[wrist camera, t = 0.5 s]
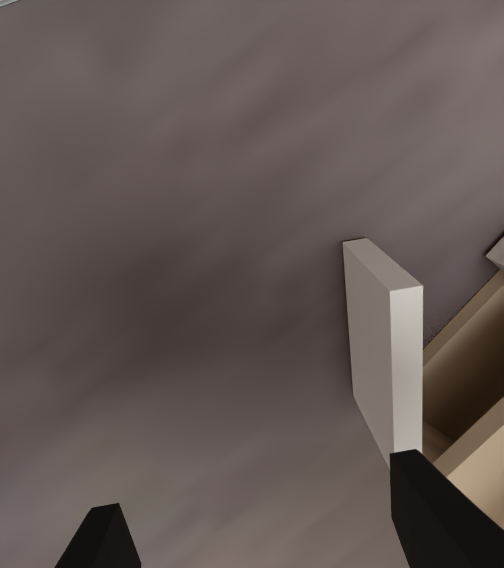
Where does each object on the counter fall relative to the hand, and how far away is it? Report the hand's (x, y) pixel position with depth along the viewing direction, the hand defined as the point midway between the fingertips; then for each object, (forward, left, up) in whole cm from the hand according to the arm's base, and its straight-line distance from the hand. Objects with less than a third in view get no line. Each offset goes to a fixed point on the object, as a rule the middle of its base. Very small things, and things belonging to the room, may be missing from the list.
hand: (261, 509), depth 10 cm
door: (-4, -3, -9) cm, 11 cm away
